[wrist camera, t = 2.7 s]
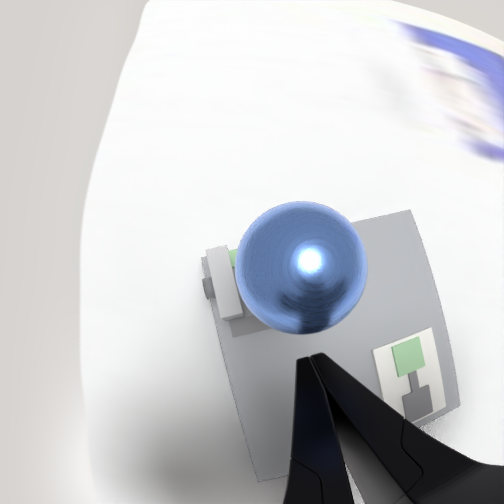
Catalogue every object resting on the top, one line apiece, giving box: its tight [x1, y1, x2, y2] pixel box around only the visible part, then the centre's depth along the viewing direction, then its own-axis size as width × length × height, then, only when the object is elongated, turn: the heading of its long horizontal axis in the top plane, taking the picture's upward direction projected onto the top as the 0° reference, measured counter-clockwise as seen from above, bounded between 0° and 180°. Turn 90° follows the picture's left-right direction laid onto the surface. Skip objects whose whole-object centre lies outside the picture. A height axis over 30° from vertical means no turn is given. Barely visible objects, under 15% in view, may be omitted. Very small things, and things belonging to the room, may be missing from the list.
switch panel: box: [201, 210, 460, 482], centre depth 15 cm, size 13×13×4 cm
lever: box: [235, 201, 368, 335], centre depth 11 cm, size 3×3×10 cm
